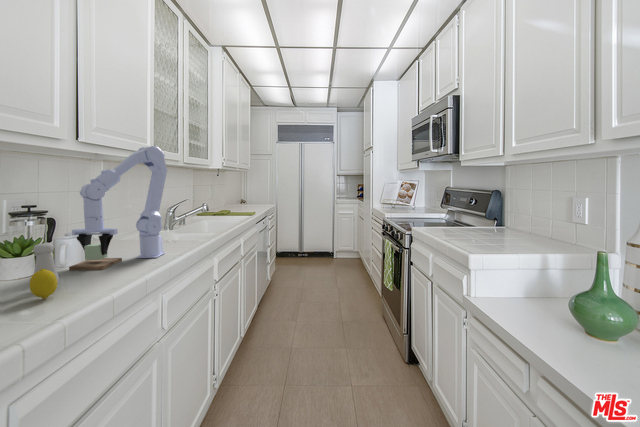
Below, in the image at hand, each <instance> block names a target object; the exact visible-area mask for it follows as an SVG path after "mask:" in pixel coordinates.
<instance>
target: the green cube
mask: <svg viewBox="0 0 640 427" xmlns="http://www.w3.org/2000/svg"><path fill="white" fill-rule="evenodd" d="M84 251H85V252H84ZM83 252H84V261H86V260H101V259H103V258H109V257H108V253H107V254H105V255H102V252H101V243H91V244H90V245H87V246H84V249H83Z"/></svg>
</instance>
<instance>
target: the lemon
mask: <svg viewBox="0 0 640 427" xmlns="http://www.w3.org/2000/svg"><path fill="white" fill-rule="evenodd" d="M57 288H58V285H57V278H56V276H55V274H54V273H53V272H51V271H49V270H45V269H41V270H40V271H37V272H36V273H34V272H33V274H32V276H31V277H30V279H29V290H30V293H32V295H33V296H35V297H36V298H41V299H43V300H46V299H47V298H48V297H50V296H52V295H53V294H54V293H55V292H56V290H57Z"/></svg>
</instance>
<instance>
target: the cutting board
mask: <svg viewBox="0 0 640 427" xmlns="http://www.w3.org/2000/svg"><path fill="white" fill-rule="evenodd" d="M122 261H123V258H122V257H106V258H103V259H101V260H84V261H82V262H78V263H75V264H74V265H71V266H68V271H95V270H96V271H100V270H102V271H103V270H105V269H108V268H109V267H112V266H114V265H116V264H118V263H121V262H122Z"/></svg>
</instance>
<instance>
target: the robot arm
mask: <svg viewBox="0 0 640 427" xmlns="http://www.w3.org/2000/svg"><path fill="white" fill-rule="evenodd" d="M165 156H166V155H165V153H164V151H163V150H162V149H161V148H160V147H158V146H157V145H151V146H146V147H140V148H138V149H137V150H135V151H134V152H132V153H131V154H129V155H128V156H127V157H126V158H125V159H124V160H123V161H121V162H120V163H119V164H118V165H116V166H115V168H113V169H111V168H107V169H103V170H101V171H100V174H99V175H97V176H96V177H95V178H91V179H90V180H89V182H90V183H85V184H84V185H82V187H81V189H80V190H79V195H80V196H81V198H82V200H83V218H84V219H83V220H84V228H75V229H72V230H71V235H72V236H76V240H77V241H78V242H79V243H80V245H81V247H82V248H83V252H84V253H85V251H84V246H87V245H90V244H92V239H93V238H92V236H93V235H94V236H96V235H97V236H98V239H99V244H101V252H102V255H105V254H107V255H108V250H109V246H110V243H111V241H112V239H113V237H114V235H118V228H105V222H104V221H105V219H104V205H103V198H104V197H105V195H106V192H108V191H110V190H111V189H112V188H113V187H115V186H116V184H118V183H119V182H120V181H121V176H123V174H125V173H127V172H128V171H130V170H131V169H133V167H135V166H137V165H138V164H142V165H144V166H146V167H147V168H148V169H149V170H150V172H151V176H150V180H149V185H148V190H147V195H146V201H145V206H144V210H143V211H142V212H141V213H140V215H139V218H138V219H137V221H136V223H135V227H136V230H137V231H138V232H139V234H138V235H139V236H138V237H139V253H140V254H138V255H137V256H136V257H135V259H157V258H159V257H161V256H163V255H164V254H166V251H164V248H163V247H164V244H163V243H164V242H163V237H162V236H161V235H160V232H161V231H162V228H163V225H162V215H161V214H160V207H161V203H162V198H163V193H164V188H165V184H166V178H167V173H168V166H167V165H166V164H167V163H166V160H165Z"/></svg>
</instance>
